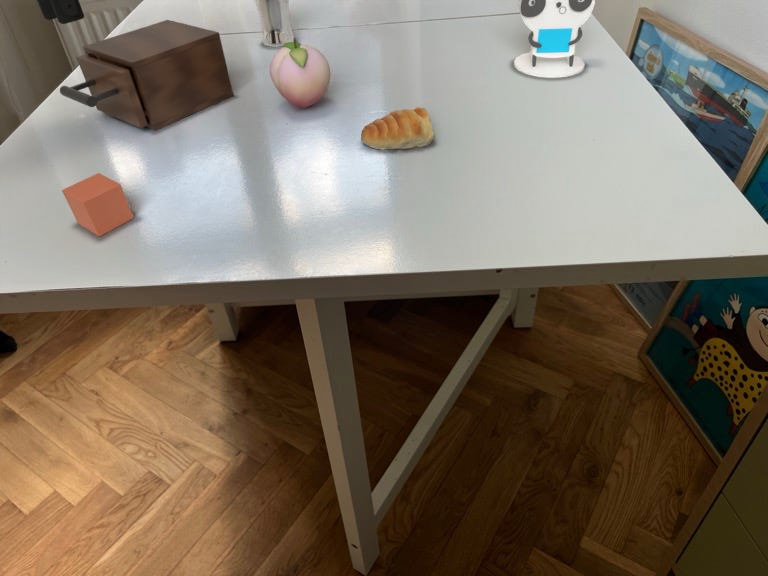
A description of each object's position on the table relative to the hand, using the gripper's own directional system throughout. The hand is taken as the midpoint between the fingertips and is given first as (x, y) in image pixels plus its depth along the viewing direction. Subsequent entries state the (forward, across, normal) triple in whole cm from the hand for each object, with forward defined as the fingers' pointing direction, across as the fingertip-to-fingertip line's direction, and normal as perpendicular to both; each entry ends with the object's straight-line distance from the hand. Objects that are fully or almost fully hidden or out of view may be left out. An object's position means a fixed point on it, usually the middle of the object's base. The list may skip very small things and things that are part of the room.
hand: (64, 17), depth 70 cm
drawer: (+14, 0, +6) cm, 16 cm away
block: (+15, +21, -14) cm, 30 cm away
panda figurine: (+15, +42, +56) cm, 71 cm away
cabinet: (+15, 0, +11) cm, 19 cm away
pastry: (+15, +38, +20) cm, 46 cm away
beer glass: (+15, -6, +41) cm, 44 cm away
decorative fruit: (+15, +19, +21) cm, 33 cm away
